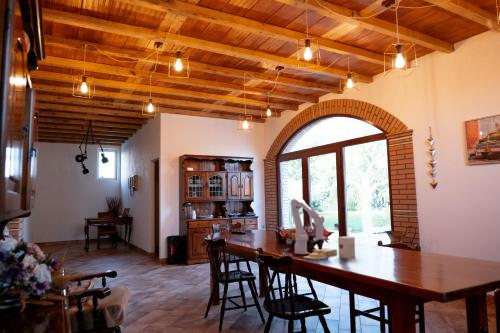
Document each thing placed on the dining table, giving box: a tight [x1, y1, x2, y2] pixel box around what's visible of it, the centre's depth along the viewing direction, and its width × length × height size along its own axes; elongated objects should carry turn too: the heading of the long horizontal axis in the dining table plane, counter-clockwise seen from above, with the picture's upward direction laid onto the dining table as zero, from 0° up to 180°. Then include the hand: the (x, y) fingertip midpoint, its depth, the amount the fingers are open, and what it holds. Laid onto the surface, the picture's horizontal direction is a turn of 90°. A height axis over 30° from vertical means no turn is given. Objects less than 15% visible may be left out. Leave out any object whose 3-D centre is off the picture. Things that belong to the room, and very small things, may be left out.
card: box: [308, 252, 324, 258], centre depth 269 cm, size 9×6×2 cm, turn 46°
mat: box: [303, 255, 329, 260], centre depth 268 cm, size 14×13×1 cm
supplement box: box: [337, 236, 356, 260], centre depth 265 cm, size 9×9×15 cm
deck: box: [312, 247, 338, 258], centre depth 278 cm, size 14×12×4 cm
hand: (320, 249), depth 273 cm, fingers closed
